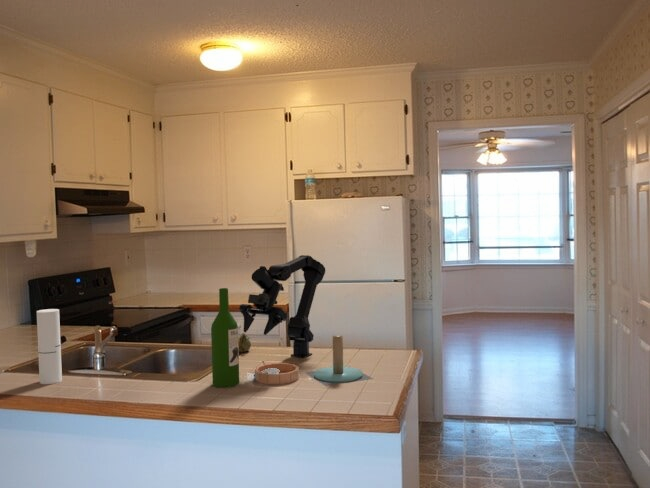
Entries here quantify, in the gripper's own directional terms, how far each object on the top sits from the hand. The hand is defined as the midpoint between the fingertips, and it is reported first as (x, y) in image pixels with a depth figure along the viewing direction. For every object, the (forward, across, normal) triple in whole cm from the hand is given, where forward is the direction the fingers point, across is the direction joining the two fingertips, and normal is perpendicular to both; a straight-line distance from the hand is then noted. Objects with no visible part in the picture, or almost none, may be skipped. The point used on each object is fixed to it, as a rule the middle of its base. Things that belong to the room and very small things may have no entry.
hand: (254, 333), depth 212 cm
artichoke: (-2, -26, +28) cm, 38 cm away
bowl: (+13, +11, +7) cm, 18 cm away
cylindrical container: (+38, -57, -26) cm, 73 cm away
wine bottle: (+21, 0, -4) cm, 21 cm away
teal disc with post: (+5, +29, +17) cm, 34 cm away
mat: (+5, +29, +17) cm, 34 cm away
